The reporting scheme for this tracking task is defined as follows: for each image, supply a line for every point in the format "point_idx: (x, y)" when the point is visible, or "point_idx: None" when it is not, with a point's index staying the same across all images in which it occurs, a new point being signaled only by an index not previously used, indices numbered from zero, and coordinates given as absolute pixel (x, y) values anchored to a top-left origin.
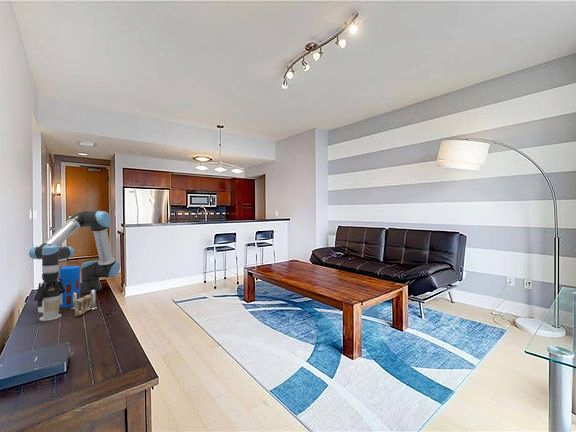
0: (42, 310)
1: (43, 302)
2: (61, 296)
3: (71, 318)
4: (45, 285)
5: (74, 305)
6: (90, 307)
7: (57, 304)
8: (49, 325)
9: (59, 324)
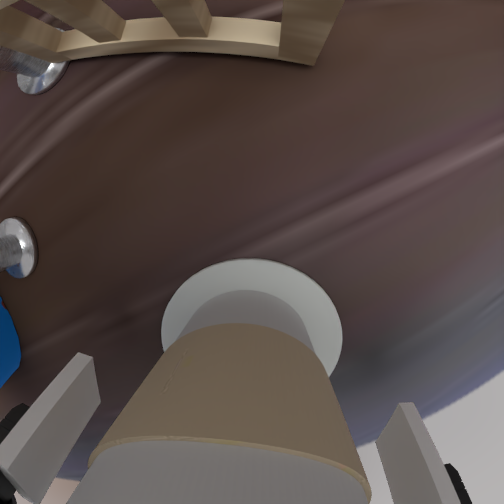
0: (417, 423)
1: (453, 500)
2: (25, 431)
3: (329, 102)
4: None
5: (6, 252)
6: (74, 34)
7: (269, 376)
8: (475, 236)
9: (473, 157)
